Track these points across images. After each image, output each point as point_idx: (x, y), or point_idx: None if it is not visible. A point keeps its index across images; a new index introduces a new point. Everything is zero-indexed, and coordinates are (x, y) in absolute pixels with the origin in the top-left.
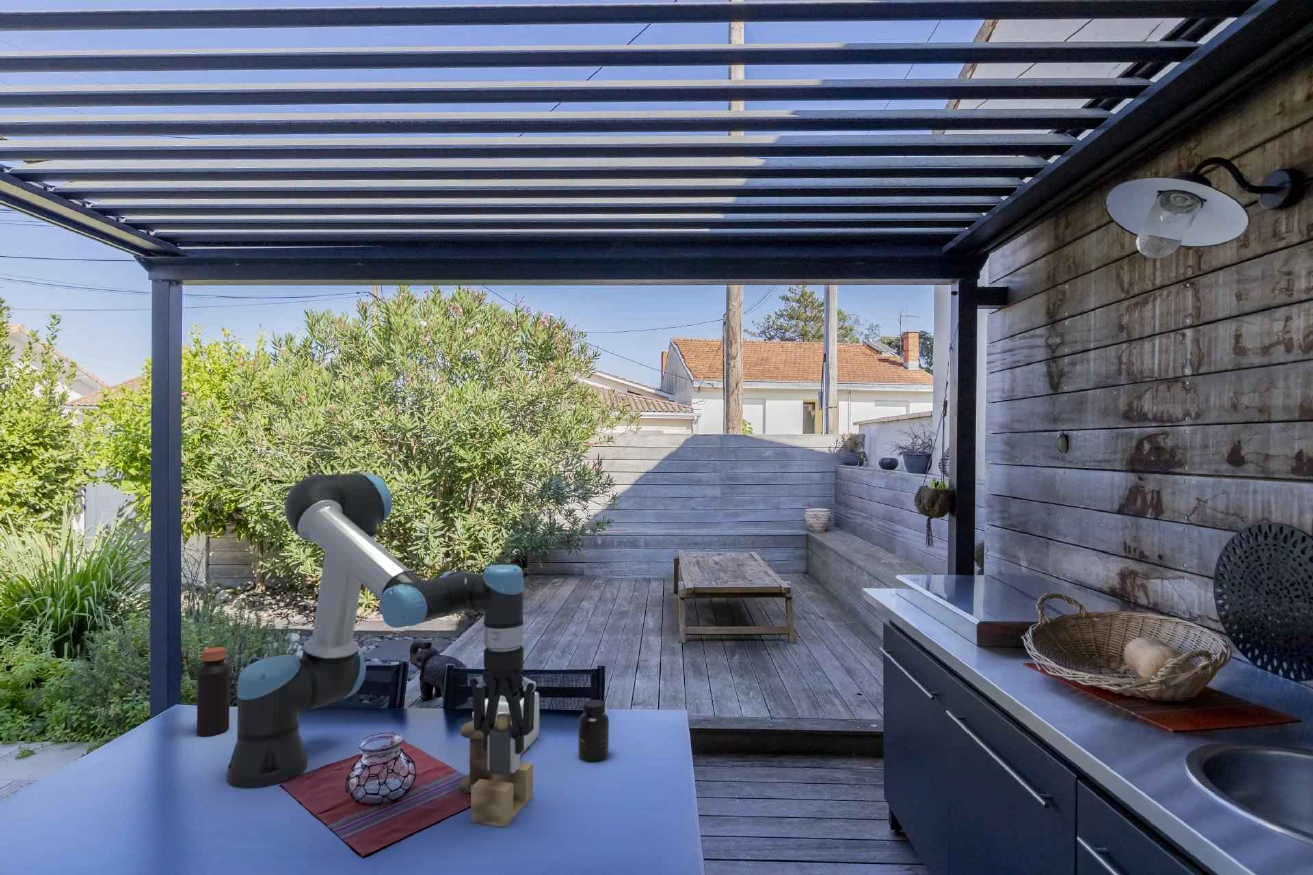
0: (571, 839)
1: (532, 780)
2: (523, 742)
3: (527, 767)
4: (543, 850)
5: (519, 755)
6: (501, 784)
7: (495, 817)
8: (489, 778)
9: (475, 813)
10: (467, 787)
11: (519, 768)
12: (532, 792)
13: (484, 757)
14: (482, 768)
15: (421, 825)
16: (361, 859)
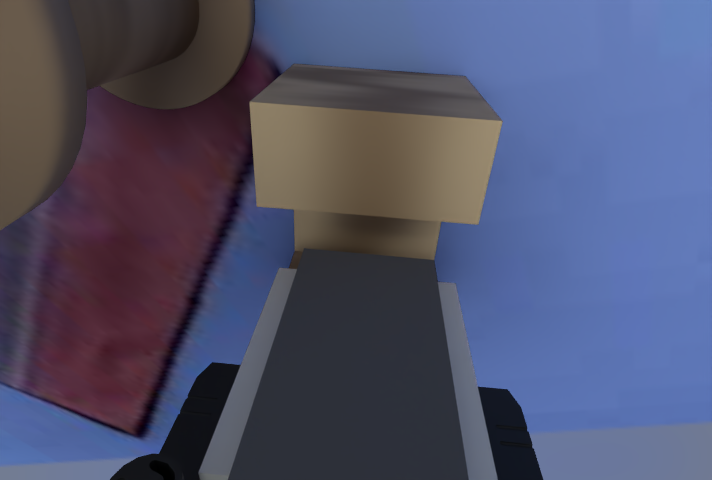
0: (659, 335)
1: (479, 95)
2: (533, 461)
3: (478, 185)
4: (571, 385)
5: (464, 337)
6: None
7: None
8: (192, 14)
9: None
10: (134, 97)
11: (429, 204)
12: (467, 80)
13: (112, 70)
14: (141, 66)
15: (161, 324)
16: (142, 442)
